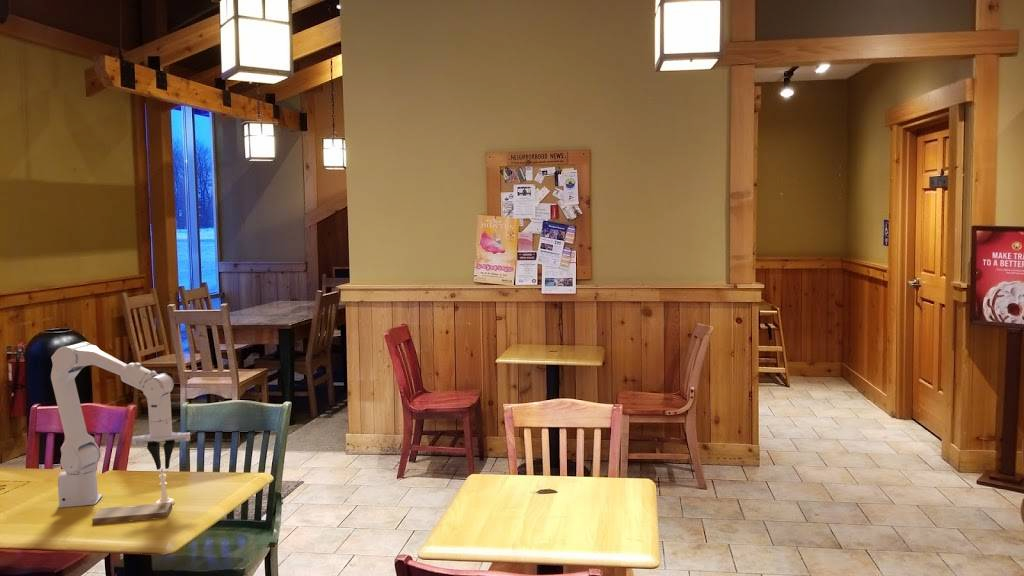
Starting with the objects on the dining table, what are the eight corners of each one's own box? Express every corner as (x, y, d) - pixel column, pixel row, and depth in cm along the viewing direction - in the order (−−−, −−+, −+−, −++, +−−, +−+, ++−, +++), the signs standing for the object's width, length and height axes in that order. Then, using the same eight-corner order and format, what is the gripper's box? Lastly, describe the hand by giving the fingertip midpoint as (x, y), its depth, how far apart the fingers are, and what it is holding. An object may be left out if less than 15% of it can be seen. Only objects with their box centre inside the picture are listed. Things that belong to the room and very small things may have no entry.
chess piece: (171, 506, 235) (168, 470, 234) (152, 507, 234) (149, 471, 233) (176, 500, 239) (174, 465, 238) (158, 501, 239) (155, 466, 238)
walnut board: (92, 524, 222) (92, 518, 222) (100, 513, 230) (99, 508, 230) (166, 517, 226) (166, 511, 226) (172, 507, 234) (171, 501, 233)
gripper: (128, 424, 229) (131, 474, 231) (186, 420, 233) (188, 470, 234) (134, 418, 236) (137, 467, 238) (190, 414, 239) (192, 462, 241)
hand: (163, 468), depth 236 cm, fingers closed
